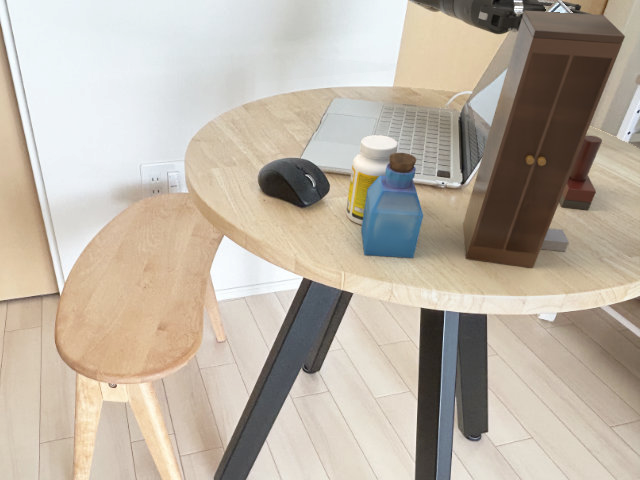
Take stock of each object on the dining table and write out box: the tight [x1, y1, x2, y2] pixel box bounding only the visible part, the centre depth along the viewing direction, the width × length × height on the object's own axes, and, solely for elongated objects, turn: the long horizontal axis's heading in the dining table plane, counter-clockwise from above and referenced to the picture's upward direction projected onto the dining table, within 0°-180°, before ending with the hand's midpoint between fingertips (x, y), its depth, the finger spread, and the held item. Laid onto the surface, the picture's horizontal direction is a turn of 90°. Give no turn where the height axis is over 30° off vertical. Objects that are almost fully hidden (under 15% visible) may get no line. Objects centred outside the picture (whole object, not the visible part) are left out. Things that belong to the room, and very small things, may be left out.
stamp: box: [559, 135, 603, 211], centre depth 83 cm, size 8×4×9 cm, turn 166°
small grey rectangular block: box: [540, 227, 570, 252], centre depth 75 cm, size 3×3×1 cm
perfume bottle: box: [360, 152, 424, 259], centre depth 71 cm, size 6×6×12 cm
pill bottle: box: [345, 134, 399, 226], centre depth 77 cm, size 6×6×11 cm
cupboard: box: [462, 10, 626, 269], centre depth 66 cm, size 10×8×27 cm
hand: (565, 25), depth 80 cm, fingers open, 8 cm apart
